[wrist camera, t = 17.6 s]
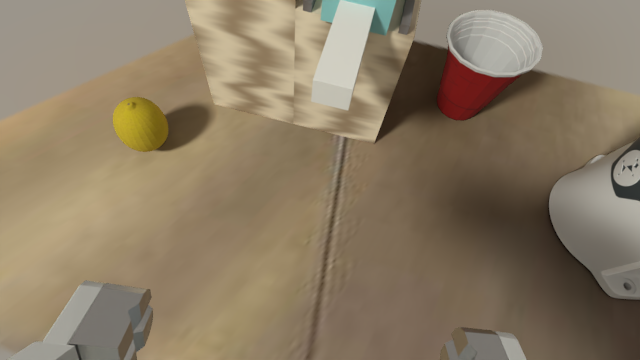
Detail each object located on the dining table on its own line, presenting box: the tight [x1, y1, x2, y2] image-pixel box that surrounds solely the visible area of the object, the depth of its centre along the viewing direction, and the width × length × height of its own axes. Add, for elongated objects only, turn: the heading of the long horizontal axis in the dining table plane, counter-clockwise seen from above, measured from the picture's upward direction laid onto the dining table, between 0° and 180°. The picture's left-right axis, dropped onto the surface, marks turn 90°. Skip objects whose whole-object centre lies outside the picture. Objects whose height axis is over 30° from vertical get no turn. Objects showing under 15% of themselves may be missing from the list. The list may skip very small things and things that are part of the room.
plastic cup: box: [437, 10, 543, 120], centre depth 49 cm, size 11×11×12 cm
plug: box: [311, 0, 396, 111], centre depth 32 cm, size 6×17×4 cm, turn 166°
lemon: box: [113, 97, 168, 152], centre depth 44 cm, size 6×6×8 cm
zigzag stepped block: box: [185, 0, 421, 144], centre depth 39 cm, size 22×9×30 cm, turn 76°
